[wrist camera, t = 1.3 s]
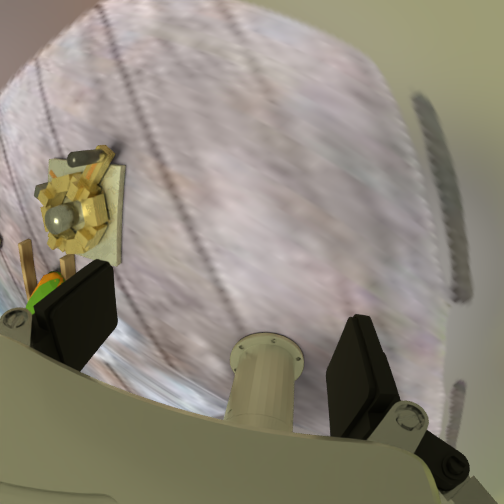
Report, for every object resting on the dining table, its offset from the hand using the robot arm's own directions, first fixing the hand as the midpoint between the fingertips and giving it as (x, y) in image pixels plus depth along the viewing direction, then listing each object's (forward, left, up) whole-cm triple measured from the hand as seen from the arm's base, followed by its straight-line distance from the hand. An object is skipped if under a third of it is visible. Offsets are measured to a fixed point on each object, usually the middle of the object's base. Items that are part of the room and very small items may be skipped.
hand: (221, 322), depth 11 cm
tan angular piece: (-5, +28, -27) cm, 40 cm away
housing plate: (-8, +30, -29) cm, 42 cm away
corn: (-28, +40, -29) cm, 56 cm away
